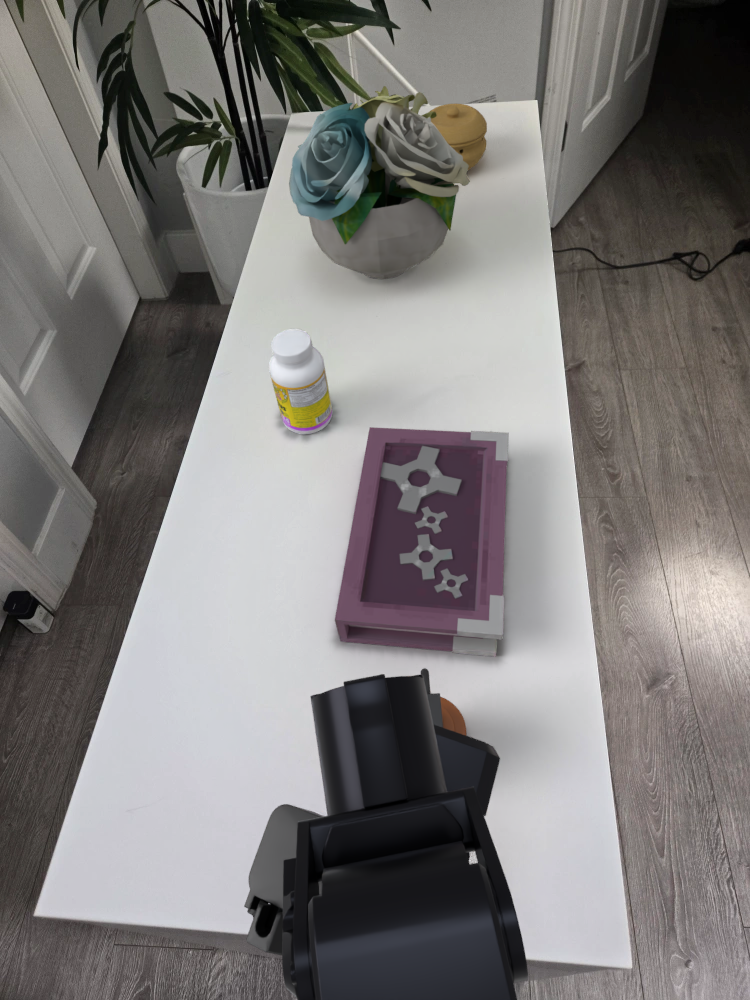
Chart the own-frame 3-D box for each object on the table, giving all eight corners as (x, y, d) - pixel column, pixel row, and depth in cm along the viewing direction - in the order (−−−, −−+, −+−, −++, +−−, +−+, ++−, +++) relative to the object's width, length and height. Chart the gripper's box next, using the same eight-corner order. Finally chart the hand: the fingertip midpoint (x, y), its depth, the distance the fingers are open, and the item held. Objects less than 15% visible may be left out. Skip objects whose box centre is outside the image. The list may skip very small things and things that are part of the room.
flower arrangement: (470, 311, 102) (477, 142, 82) (298, 319, 104) (264, 155, 84) (461, 213, 116) (465, 49, 97) (311, 221, 118) (285, 62, 99)
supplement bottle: (281, 402, 94) (262, 326, 83) (331, 395, 94) (317, 318, 84) (283, 440, 90) (262, 365, 80) (335, 433, 90) (321, 357, 80)
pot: (429, 189, 121) (428, 130, 113) (411, 155, 128) (409, 98, 120) (494, 175, 122) (498, 116, 114) (473, 143, 129) (475, 85, 121)
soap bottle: (468, 785, 64) (471, 761, 58) (397, 790, 64) (392, 766, 58) (460, 715, 67) (462, 686, 61) (393, 719, 68) (388, 690, 62)
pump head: (443, 738, 58) (443, 731, 56) (416, 740, 58) (416, 733, 56) (437, 674, 61) (437, 665, 60) (411, 675, 61) (411, 667, 60)
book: (499, 657, 71) (503, 635, 66) (340, 642, 73) (334, 620, 69) (505, 460, 85) (508, 432, 81) (372, 453, 87) (369, 425, 83)
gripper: (318, 669, 39) (341, 709, 53) (170, 1071, 32) (242, 992, 46) (518, 737, 37) (486, 760, 51) (409, 1180, 30) (407, 1063, 44)
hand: (405, 883), depth 48 cm, fingers closed
